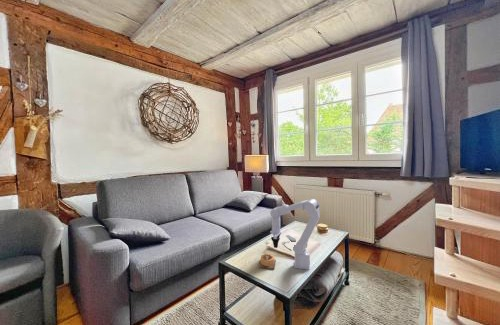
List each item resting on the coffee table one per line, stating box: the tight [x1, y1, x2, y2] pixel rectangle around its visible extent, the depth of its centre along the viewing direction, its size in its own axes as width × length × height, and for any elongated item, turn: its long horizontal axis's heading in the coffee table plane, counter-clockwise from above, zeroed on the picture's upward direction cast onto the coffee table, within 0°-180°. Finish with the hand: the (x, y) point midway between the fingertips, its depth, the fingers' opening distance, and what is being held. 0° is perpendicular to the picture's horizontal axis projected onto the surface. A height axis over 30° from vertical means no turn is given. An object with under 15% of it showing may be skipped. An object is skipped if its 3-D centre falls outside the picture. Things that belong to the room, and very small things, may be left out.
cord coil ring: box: [260, 253, 275, 266], centre depth 137 cm, size 8×8×4 cm
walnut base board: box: [257, 258, 277, 270], centre depth 137 cm, size 10×10×1 cm
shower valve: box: [285, 234, 297, 242], centre depth 164 cm, size 12×6×15 cm
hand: (276, 244), depth 144 cm, fingers open, 7 cm apart
